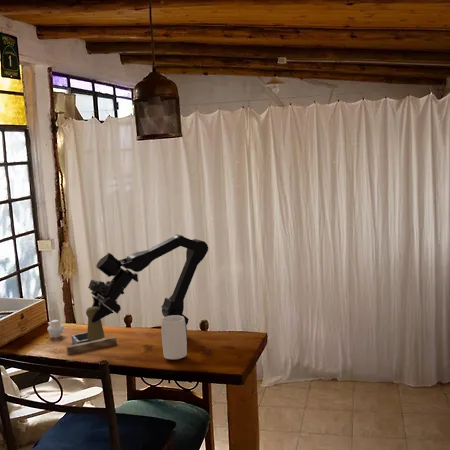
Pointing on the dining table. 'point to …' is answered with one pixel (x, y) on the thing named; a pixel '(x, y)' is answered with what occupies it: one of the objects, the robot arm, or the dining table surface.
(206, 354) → the dining table surface
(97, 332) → the olive brown shaker
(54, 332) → the white vase
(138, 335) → the dining table surface
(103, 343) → the door edge strip
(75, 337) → the collar
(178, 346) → the cup
